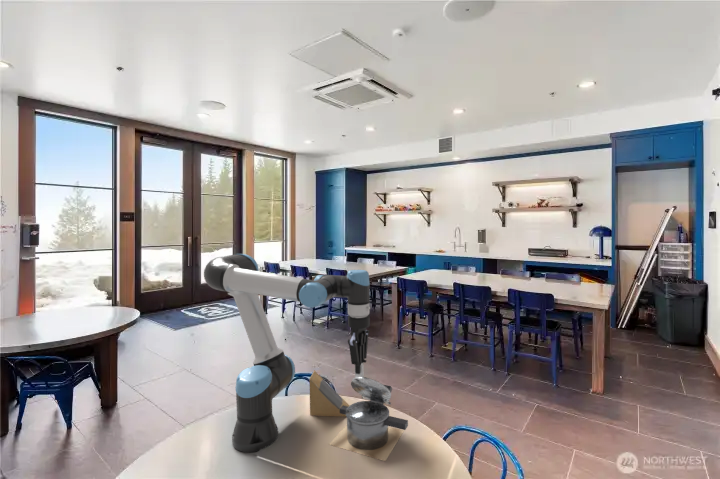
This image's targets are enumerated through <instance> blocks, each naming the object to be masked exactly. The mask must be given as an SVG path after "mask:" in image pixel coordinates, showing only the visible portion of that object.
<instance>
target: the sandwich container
mask: <svg viewBox="0 0 720 479" xmlns="http://www.w3.org/2000/svg"><path fill="white" fill-rule="evenodd" d="M308 382H309V415H310V416H320V417H346V415H345V414H341V413H340V408H341V407H342V406H343V405H344V406H348V407H349V406H350V405H351V404H349V403H348V402H347V401H345V400H344V399H343V398H342V396H341V395H340V394H338V393H337V392H336V390H335V389H333V387H332V386H330V385H329V384H328V383H327V381H326V380H324V379H323V377H322V376H321V375H320V374H319V373H318V372H317V371H316V370H313V372H312V374H311V376H310V377H309V380H308Z"/></svg>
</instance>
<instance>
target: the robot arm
mask: <svg viewBox="0 0 720 479" xmlns="http://www.w3.org/2000/svg"><path fill="white" fill-rule="evenodd" d="M259 270H260V269H259V265H258V262H257V261H256V260H255V258H254V257H252V256H251V255H248V254H246V253H235V254H231V255H225V256H218V257H214V258H213V259H211V260H210V261H209V262H207V263H206V265H205V267H204V270H203V278H204V281H205V283H206V284H207V285H208V287H210V288H212V289H213V290H217V291H221V292H227V295H229V296H231V297H233V299H234V301H235V305H236V307H237V310H238V313H239V315H240V318H241V320H242V324H243V327H244V329H245V332H246V335H247V338H248V341H249V343H250V346H251V348H252V350H253V351H252V352H253V354H254V359H253V362H252V364H253V366H251V367H247V368H245V369H243V370H241V371H240V372H239V374H238V375H237V377H236V382H235V394H236V395H235V397H236V398H235V399H236V421H235V425H234V427H233V428H234V429H233V431H232V434H231V439H232V440H231V445H232V447H233V448H234V449H235V450H237V451H239V452H243V453H255V452H260V451H261V450H262V449H265V448H268V447H269V446H271V445H272V444H273V443H275V442H276V441H277V439H278V437H279V436H278V435H279V429H278V428H279V427H278V425H277V423H276V420H275V418H274V415H273V399H274V398H275V397H276V396H277V395H279V394H280V393H281V392H282V391H283V390H284V389H286V388H288V386H289V385H290V384H291V382H292V381H293V380H294V377H295V374H296V367H295V364H294V361H293V359H292V358H291V356H290V357H289V356H288V355H287V354H285V352H284V349H282V348H279V347H278V345H277V342H276V340H275V337H274V335H273V332H272V329H271V327H270V323H269V321H268V318H267V316H266V313H265V309H264V307H263V304H262V302H261V301H262V300H261V299H260V296H266V297H271V298H276V299H282V300H287V301H293V302H294V301H295V302H297V303H299V302H300V303H301V304H302V305H303V306H305V307H306V308H308V309H309V308H310V309H311V308H316V307H319V306H321V305H323V304H324V303H325V302H328V301H329V300H331V299H332V298H343V299H344V298H347V315H348V316H347V326H348V327H349V328H350V329H351V333H350V334H351V338H349V339H348V340H347V344H348V346H349V347H348V348H349V354H350V362H351V365H354V378H355V377H365V372H364V371H365V370H364V368H365V367H364V363H367V356H368V345H369V344H368V343H369V335H370V330H368V329H367V328H369V327H370V325H371V323H370V322H371V321H370V320H371V319H370V310H371V306H370V284H371V283H370V274H369V271H367V270H365V269H350V270H348V271H347V274H346V275H338V274H337V275H335V274H334V275H333V274H318V275H316V276H315V278H314V279H308V278H307V279H305V278H302V277H297V276H296V277H295V276H290V275H284V274H278V273H271V272H265V271H261V270H260V271H259ZM259 295H260V296H259Z"/></svg>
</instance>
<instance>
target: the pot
mask: <svg viewBox="0 0 720 479" xmlns="http://www.w3.org/2000/svg"><path fill="white" fill-rule="evenodd" d="M349 405H350V406H349V407H348V406H344V405H343V406H342V407H341V408H340V413H341V414H345V415H346V416H345V417H346V425H347V440H348V442H349V443H350V445H352V446H353V447H355V448H358V449H361V450H374V449H378V448H381V447H382V446H384V445H385V444H386V443H387V441H388V427H392V428H396V429H400V430H404V431H406V430H407V428H408V426H409V420H408V419H405V418H404V419H403V418H400V417H395V416H391V415H390V409H389V408H388V407H387V406H386V405H385V404H384V403H380V402H376V401H372V400H361V401H358V402H357V401H356V402H354V403H352V404H349Z"/></svg>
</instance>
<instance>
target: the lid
mask: <svg viewBox="0 0 720 479" xmlns="http://www.w3.org/2000/svg"><path fill="white" fill-rule="evenodd" d="M350 386H351V387H352V389H353V390H354V391H355V393H357V394H359V395H360V396H361V399H364V400H366V401H370V400H372V401H376V402H380V403H383V404H384V405H385V404H386V405H388V406H389V405H392V402H390V400H391V397H392V390H393V388H392V385H387V384H383V383H381V382H379V381H378V380H375V379H372V378H370V377H365V376H364V377H355V376H354V377H353V378H352V380H351V382H350Z"/></svg>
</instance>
